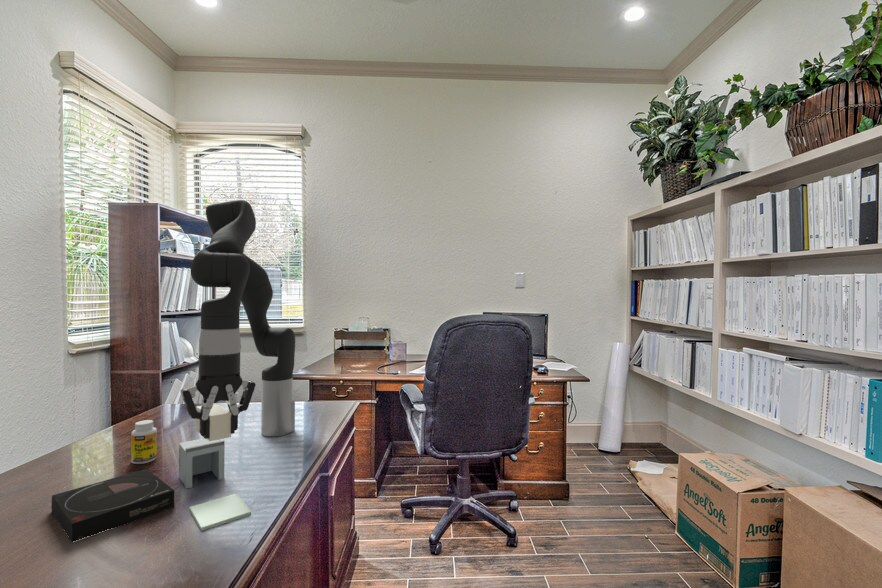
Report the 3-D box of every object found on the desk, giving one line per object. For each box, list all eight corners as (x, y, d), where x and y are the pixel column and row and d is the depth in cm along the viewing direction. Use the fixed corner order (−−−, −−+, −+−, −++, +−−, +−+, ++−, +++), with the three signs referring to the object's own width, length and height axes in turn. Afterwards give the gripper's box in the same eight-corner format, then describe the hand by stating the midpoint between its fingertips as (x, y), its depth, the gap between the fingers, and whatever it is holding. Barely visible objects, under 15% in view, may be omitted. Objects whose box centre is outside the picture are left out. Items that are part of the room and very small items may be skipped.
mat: (236, 496, 94) (236, 493, 94) (251, 514, 86) (251, 511, 86) (189, 509, 88) (189, 507, 88) (201, 530, 80) (201, 527, 80)
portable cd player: (145, 485, 100) (145, 468, 100) (174, 509, 89) (174, 490, 89) (51, 513, 87) (51, 494, 87) (72, 546, 76) (72, 523, 76)
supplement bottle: (130, 466, 109) (130, 426, 109) (131, 459, 113) (131, 421, 113) (156, 462, 112) (156, 423, 112) (156, 455, 116) (156, 417, 116)
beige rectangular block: (215, 425, 95) (216, 403, 95) (231, 437, 87) (231, 412, 87) (195, 429, 92) (195, 406, 92) (209, 441, 85) (209, 416, 85)
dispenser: (215, 467, 108) (215, 432, 108) (224, 478, 102) (224, 441, 102) (179, 476, 103) (179, 439, 103) (186, 488, 97) (186, 449, 97)
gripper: (251, 346, 94) (249, 424, 94) (176, 351, 85) (174, 437, 85) (262, 350, 89) (261, 432, 88) (183, 355, 79) (181, 448, 79)
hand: (218, 434), depth 87 cm, fingers closed on beige rectangular block, 4 cm apart
